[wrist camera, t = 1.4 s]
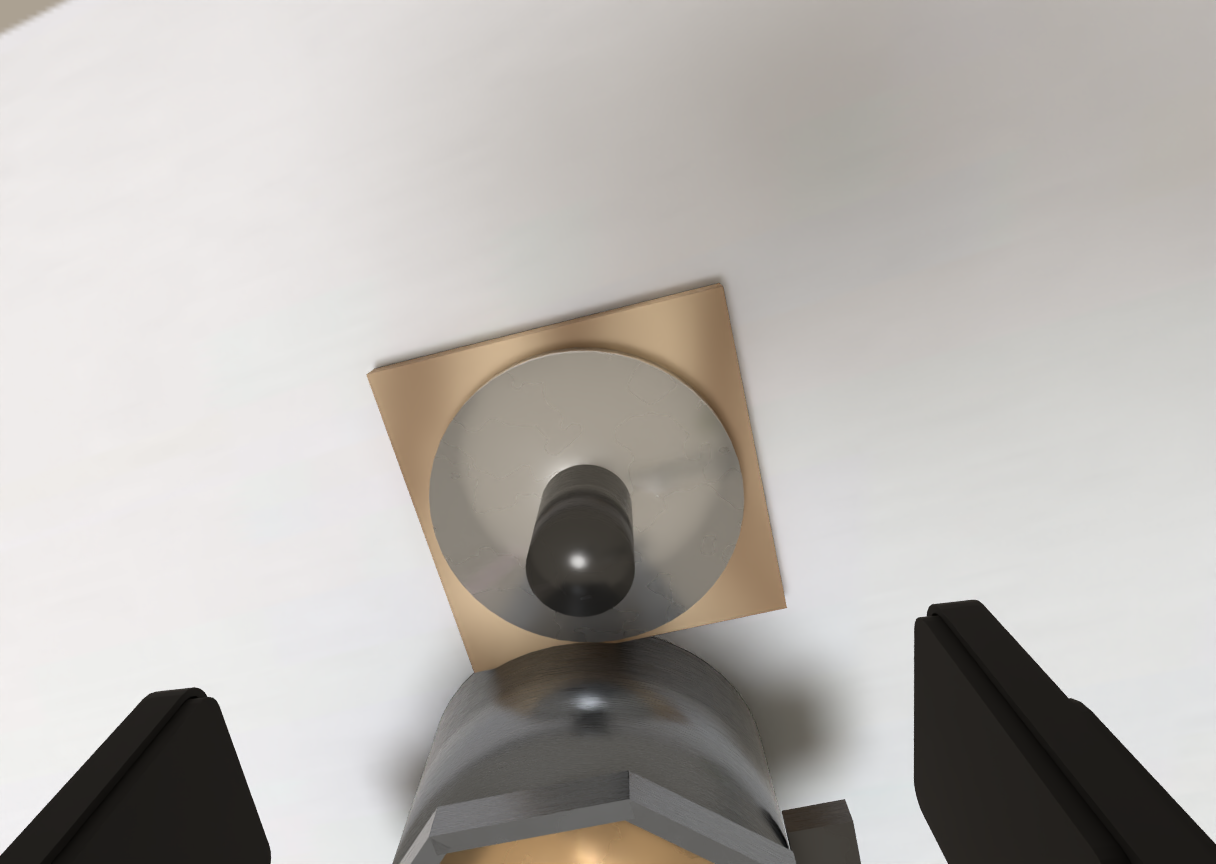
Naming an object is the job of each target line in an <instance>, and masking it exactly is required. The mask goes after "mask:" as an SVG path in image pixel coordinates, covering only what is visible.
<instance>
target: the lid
mask: <svg viewBox="0 0 1216 864" xmlns="http://www.w3.org/2000/svg"><path fill="white" fill-rule="evenodd" d="M429 503H430V515H431V520H432V524H433V529H434V533H435V536H436V539H437V542H438V544H439V547H440V550H441V552H442V554H443V556H444V558H445V560H446V561H447V563H448V565H449V567H450V569H451V570H452V572H453V573H454V574H455V576H456V577H457V578H458V580H459V581H460V583H461V584H462V585H463V586H464V587H465V588H466V589H467V590H468V592H469V593H470V594H471V595H472V596H473V597H474V598H475V599H476V600H478V601H479V602H480V603H481V604H482V605H484V606H485V607H486V608H487V609H488V610H490V611H491V612H493V613H494V614H496V615H497V616H499V617H500V618H502V619H504V620H505V621H507V622H509V623H511V624H513V625H515V626H517V627H519V628H521V629H524V630H526V631H529V632H532V633H535V634H538V635H540V636H544V637H549V638H553V639H557V640H564V641H572V642H605V641H614V640H620V639H624V638H629V637H633V636H637V635H640V634H643V633H645V632H648V631H651V630H654V629H656V628H658V627H660V626H662V625H664V624H666V623H668V622H670V621H672V620H673V619H675V618H676V617H678V616H680V615H681V614H683V613H684V612H686V611H687V610H688V609H689V608H691V607H692V606H693V605H694V604H695V603H697V602H698V601H699V600H700V599H701V598H702V597H703V596H704V595H705V594H706V593H707V592H708V591H709V589H710V588H711V587H712V586H713V585H714V584H715V582H716V581H717V580H718V578H719V577H720V575H721V574H722V572H723V571H724V570H725V568H726V566H727V564H728V562H729V560H730V558H731V556H732V554H733V552H734V549H735V546H736V543H737V540H738V538H739V535H740V530H741V525H742V520H743V510H744V489H743V478H742V474H741V470H740V465H739V461H738V458H737V455H736V453H735V450H734V448H733V445H732V442H731V440H730V438H729V436H728V434H727V432H726V430H725V428H724V426H723V425H722V423H721V421H720V419H719V417H718V416H717V414H716V413H715V412H714V410H713V409H712V408H711V407H710V405H709V404H708V403H707V401H706V400H705V399H704V398H703V397H702V396H701V395H700V394H699V393H698V392H697V391H696V390H695V389H694V388H693V387H692V386H691V385H689V384H688V383H687V382H686V381H684V380H683V379H682V378H680V377H679V376H678V375H676V374H675V373H673V372H671V371H670V370H668V369H666V368H664V367H663V366H661V365H659V364H657V363H655V362H653V361H650V360H648V359H645V358H643V357H640V356H638V355H634V354H630V353H627V352H623V351H619V350H613V349H605V348H597V347H573V348H566V349H558V350H552V351H548V352H545V353H541V354H537V355H533V356H531V357H528V358H526V359H524V360H521V361H519V362H516V363H514V364H512V365H511V366H509V367H507V368H505V369H504V370H502V371H500V372H499V373H497V374H495V375H494V376H493V377H492V378H490V379H489V380H488V381H486V382H485V383H484V384H483V385H481V386H480V387H479V388H478V389H477V390H476V391H475V392H474V393H473V394H472V395H471V396H470V397H469V399H468V400H467V401H466V402H465V403H464V405H463V406H462V407H461V409H460V410H459V412H458V413H457V414H456V416H455V417H454V418H453V420H452V421H451V423H450V424H449V426H448V428H447V430H446V432H445V433H444V435H443V437H442V439H441V441H440V444H439V447H438V449H437V452H436V455H435V458H434V461H433V466H432V471H431V476H430V488H429Z"/></svg>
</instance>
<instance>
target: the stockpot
mask: <svg viewBox="0 0 1216 864" xmlns="http://www.w3.org/2000/svg"><path fill="white" fill-rule="evenodd" d="M782 815H783V819H784V824H785V828H786V833H787V837H788V841H787V837H786V833H785V829H784V825H783V822H782V818H781V814H780V810H779V806H778V803H777V799H776V795H775V791H774V787H773V784H772V780H771V776H770V772H769V768H768V765H767V761H766V757H765V753H764V749H763V746H762V742H761V738H760V735H759V732H758V729H757V726H756V723H755V721H754V719H753V717H752V715H751V713H750V711H749V709H748V707H747V705H746V704H745V702H744V701H743V699H742V698H741V697H740V695H739V694H738V692H737V691H736V690H735V689H734V688H733V686H732V685H731V684H730V683H729V682H728V681H727V680H726V679H725V678H724V677H723V676H722V675H721V674H720V673H718V672H717V671H716V670H715V669H713V668H712V667H711V666H710V665H708V664H707V663H706V662H704V661H703V660H701V659H699V658H698V657H696V656H694V655H693V654H691V653H690V652H688V651H686V650H684V649H681V648H679V647H677V646H675V645H673V644H670V643H668V642H665V641H662V640H659V639H656V638H653V637H650V636H649V637H644V638H639V639H635V640H630V641H625V642H620V643H603V642H591V643H573V644H566V645H559V646H553V647H549V648H545V649H541V650H538V651H534V652H530V653H528V654H525V655H523V656H520V657H518V658H515V659H513V660H510V661H508V662H506V663H504V664H503V665H501V666H499V667H497V668H495V669H490V670H485V671H481V672H476V673H473V674H472V675H471V676H470V677H469V678H468V679H467V680H466V681H465V682H464V683H463V684H462V686H461V687H460V688H459V690H458V691H457V692H456V694H455V695H454V696H453V698H452V699H451V700H450V702H449V704H448V706H447V708H446V710H445V711H444V713H443V715H442V717H441V720H440V723H439V726H438V729H437V732H436V735H435V738H434V741H433V744H432V747H431V750H430V753H429V756H428V759H427V762H426V765H425V768H424V771H423V774H422V777H421V780H420V783H419V786H418V789H417V792H416V795H415V798H414V801H413V804H412V807H411V810H410V813H409V816H408V819H407V822H406V825H405V828H404V831H403V834H402V837H401V840H400V843H399V846H398V849H397V852H396V855H395V858H394V861H393V864H861V862H860V856H859V851H858V845H857V840H856V835H855V829H854V824H853V820H852V817H851V814H850V812H849V809H848V806H847V804H846V801H845V799H844V800H838V801H833V802H827V803H822V804H817V805H811V806H806V807H800V808H795V809H789V810H784V811H782ZM788 842H789V844H788ZM789 846H790V848H789Z"/></svg>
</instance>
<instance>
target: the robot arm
mask: <svg viewBox="0 0 1216 864" xmlns="http://www.w3.org/2000/svg"><path fill="white" fill-rule="evenodd" d="M914 786H915V792H916V796H917V800H918V803H919V806H920V809H921V811H922V813H923V815H924V817H925V819H926V821H927V823H928V825H929V827H930V829H931V831H932V833H933V835H934V837H935V839H936V841H937V843H938V845H939V847H940V849H941V851H942V853H943V855H944V857H945V859H946V861H947V863H948V864H1216V844H1215V843H1214V842H1213V841H1212V840H1211V839H1210V838H1209V836H1208V835H1207V834H1206V833H1205V832H1204V831H1203V830H1202V829H1201V828H1200V827H1199V826H1198V825H1197V824H1196V823H1195V821H1194V820H1193V819H1192V818H1191V817H1190V816H1189V815H1188V814H1187V813H1186V812H1185V811H1184V810H1183V809H1182V808H1181V806H1180V805H1179V804H1178V803H1177V802H1176V801H1175V800H1174V799H1173V798H1172V797H1171V796H1170V795H1169V794H1168V793H1167V791H1166V790H1165V789H1164V788H1163V787H1162V786H1161V785H1160V784H1159V783H1158V782H1157V781H1156V780H1155V779H1154V778H1153V776H1152V775H1151V774H1150V773H1149V772H1148V771H1147V770H1146V769H1145V768H1144V767H1143V766H1142V765H1141V764H1140V762H1139V761H1138V760H1137V759H1136V758H1135V757H1134V756H1133V755H1132V754H1131V753H1130V752H1129V751H1128V750H1127V749H1126V747H1125V746H1124V745H1123V744H1122V743H1121V742H1120V741H1119V740H1118V739H1117V738H1116V737H1115V736H1114V735H1113V734H1112V732H1111V731H1110V730H1109V729H1108V728H1107V727H1106V726H1105V725H1104V724H1103V723H1102V722H1101V721H1100V720H1099V719H1098V717H1097V716H1096V715H1095V714H1094V713H1093V712H1092V711H1091V710H1090V709H1089V708H1087V707H1086V706H1085V705H1084V704H1083V703H1081V702H1080V701H1077V700H1074V699H1072V698H1068V697H1067V696H1066V695H1065V694H1064V693H1063V692H1062V691H1061V689H1060V688H1059V687H1058V686H1057V685H1056V684H1055V683H1054V682H1053V681H1052V680H1051V678H1050V677H1049V676H1048V675H1047V674H1046V673H1045V672H1044V671H1043V670H1042V669H1041V667H1040V666H1039V665H1038V664H1037V663H1036V662H1035V661H1034V660H1033V659H1032V658H1031V656H1030V655H1029V654H1028V653H1027V652H1026V651H1025V650H1024V649H1023V648H1022V647H1021V645H1020V644H1019V643H1018V642H1017V641H1016V640H1015V639H1014V638H1013V637H1012V636H1011V634H1010V633H1009V632H1008V631H1007V630H1006V629H1005V628H1004V627H1003V626H1002V625H1001V624H1000V622H999V621H998V620H997V619H996V618H995V617H994V616H993V615H992V614H991V613H990V611H989V610H988V609H987V608H986V607H985V606H984V605H983V604H982V603H981V602H979V601H978V600H966V601H958V602H949V603H940V604H932V605H931V606H929V608H928V611H927V617H918V618H917V619H916V621H915V627H914ZM270 863H271V851H270V846H269V843H268V840H267V838H266V835H265V832H264V829H263V827H262V824H261V821H260V818H259V815H258V813H257V810H256V807H255V804H254V801H253V799H252V796H251V793H250V790H249V787H248V785H247V782H246V779H245V776H244V773H243V771H242V768H241V765H240V762H239V759H238V757H237V754H236V751H235V748H234V745H233V743H232V740H231V737H230V734H229V732H228V729H227V726H226V723H225V720H224V718H223V715H222V712H221V709H220V706H219V704H218V702H217V701H216V700H215V699H214V698H211V697H207V695H206V694H205V692H203V691H202V690H201V689H199V688H195V687H194V688H185V689H176V690H167V691H158V692H154V693H151V694H149V695H148V696H146V697H145V698H144V699H143V700H142V701H141V702H140V703H139V704H138V705H137V706H136V708H135V709H134V710H133V711H132V712H131V713H130V714H129V715H128V716H127V717H126V718H125V720H124V721H123V722H122V723H121V724H120V725H119V726H118V727H117V728H116V729H115V731H114V732H113V733H112V734H111V735H110V736H109V737H108V738H107V739H106V740H105V742H104V743H103V744H102V745H101V746H100V747H99V748H98V749H97V750H96V751H95V752H94V754H93V755H92V756H91V757H90V758H89V759H88V760H87V761H86V762H85V763H84V765H83V766H82V767H81V768H80V769H79V770H78V771H77V772H76V773H75V774H74V776H73V777H72V778H71V779H70V780H69V781H68V782H67V783H66V784H65V785H64V786H63V788H62V789H61V790H60V791H59V792H58V793H57V794H56V795H55V796H54V797H53V799H52V800H51V801H50V802H49V803H48V804H47V805H46V806H45V807H44V808H43V810H42V811H41V812H40V813H39V814H38V815H37V816H36V817H35V818H34V819H33V820H32V822H31V823H30V824H29V825H28V826H27V827H26V828H25V829H24V830H23V831H22V833H21V834H20V835H19V836H18V837H17V838H16V839H15V840H14V841H13V842H12V844H11V845H10V846H9V847H8V848H7V849H6V850H5V851H4V852H3V853H2V854H1V856H0V864H270Z"/></svg>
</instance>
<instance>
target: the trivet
mask: <svg viewBox="0 0 1216 864" xmlns="http://www.w3.org/2000/svg"><path fill="white" fill-rule="evenodd" d="M573 347H597V348H605V349H613V350H619V351H623V352H627V353H630V354H634V355H638V356H640V357H643V358H645V359H648V360H650V361H653V362H655V363H657V364H659V365H661V366H663V367H664V368H666V369H668V370H670V371H671V372H673V373H675V374H676V375H678V376H679V377H680V378H682V379H683V380H684V381H686V382H687V383H688V384H689V385H691V386H692V387H693V388H694V389H695V390H696V391H697V392H698V393H699V394H700V395H701V396H702V397H703V398H704V399H705V400H706V401H707V403H708V404H709V405H710V407H711V408H712V409H713V410H714V412H715V413H716V414H717V416H718V417H719V419H720V421H721V423H722V425H723V426H724V428H725V430H726V432H727V434H728V436H729V438H730V440H731V442H732V445H733V448H734V450H735V453H736V455H737V458H738V461H739V465H740V470H741V474H742V478H743V489H744V510H743V520H742V525H741V530H740V535H739V538H738V540H737V543H736V546H735V549H734V552H733V554H732V556H731V558H730V560H729V562H728V564H727V566H726V568H725V570H724V571H723V572H722V574H721V575H720V577H719V578H718V580H717V581H716V582H715V584H714V585H713V586H712V587H711V588H710V589H709V591H708V592H707V593H706V594H705V595H704V596H703V597H702V598H701V599H700V600H699V601H698V602H697V603H695V604H694V605H693V606H692V607H691V608H689V609H688V610H687V611H686V612H684V613H683V614H681V615H680V616H678V617H676V618H675V619H673V620H672V621H670V622H668V623H666V624H664V625H662V626H660V627H658V628H656V629H654V630H651V631H648V632H645V633H643V634H640V635H637V636H633V637H629V638H624V639H620V640H614V641H605V642H603V643H620V642H625V641H630V640H635V639H639V638H644V637H649V636H654V635H659V634H664V633H668V632H673V631H678V630H683V629H688V628H692V627H697V626H702V625H707V624H712V623H717V622H721V621H726V620H731V619H736V618H741V617H745V616H750V615H755V614H760V613H765V612H769V611H774V610H779V609H784V608H787V607H786V602H785V596H784V591H783V586H782V581H781V576H780V571H779V566H778V561H777V556H776V551H775V546H774V541H773V536H772V531H771V526H770V521H769V516H768V511H767V506H766V501H765V496H764V491H763V486H762V480H761V475H760V470H759V465H758V460H757V455H756V450H755V445H754V440H753V435H752V430H751V425H750V420H749V415H748V410H747V405H746V400H745V395H744V390H743V385H742V380H741V375H740V370H739V364H738V359H737V354H736V349H735V344H734V339H733V334H732V329H731V324H730V319H729V314H728V309H727V304H726V299H725V294H724V289H723V286H722V285H721V284H720V283H717V284H713V285H709V286H705V287H701V288H697V289H693V290H689V291H685V292H681V293H677V294H673V295H669V296H665V297H661V298H657V299H653V300H649V301H645V302H641V303H637V304H633V305H629V306H625V307H621V308H617V309H613V310H609V311H605V312H601V313H597V314H593V315H589V316H585V317H581V318H577V319H573V320H569V321H565V322H561V323H557V324H553V325H549V326H544V327H540V328H536V329H532V330H528V331H524V332H520V333H516V334H512V335H508V336H504V337H500V338H496V339H492V340H488V341H484V342H480V343H476V344H472V345H468V346H464V347H460V348H456V349H452V350H448V351H444V352H440V353H436V354H432V355H428V356H424V357H420V358H416V359H412V360H408V361H404V362H400V363H396V364H392V365H388V366H384V367H380V368H376V369H374V370H372V371H371V372H369V373H368V374H367V378H368V380H369V383H370V386H371V389H372V391H373V394H374V397H375V400H376V402H377V405H378V408H379V411H380V413H381V416H382V419H383V422H384V425H385V427H386V430H387V433H388V436H389V438H390V441H391V444H392V447H393V449H394V452H395V455H396V458H397V460H398V463H399V466H400V469H401V472H402V474H403V477H404V480H405V483H406V485H407V488H408V491H409V494H410V496H411V499H412V502H413V505H414V507H415V510H416V513H417V516H418V518H419V521H420V524H421V527H422V530H423V532H424V535H425V538H426V541H427V543H428V546H429V549H430V552H431V554H432V557H433V560H434V563H435V565H436V568H437V571H438V574H439V577H440V579H441V582H442V585H443V588H444V590H445V593H446V596H447V599H448V601H449V604H450V607H451V610H452V612H453V615H454V618H455V621H456V623H457V626H458V629H459V632H460V635H461V637H462V640H463V643H464V646H465V648H466V651H467V654H468V657H469V659H470V662H471V665H472V668H473V670H474V673H476V672H481V671H485V670H490V669H495V668H497V667H499V666H501V665H503V664H504V663H506V662H508V661H510V660H513V659H515V658H518V657H520V656H523V655H525V654H528V653H530V652H534V651H538V650H541V649H545V648H549V647H553V646H559V645H566V644H573V643H591V642H572V641H564V640H557V639H553V638H549V637H544V636H540V635H538V634H535V633H532V632H529V631H526V630H524V629H521V628H519V627H517V626H515V625H513V624H511V623H509V622H507V621H505V620H504V619H502V618H500V617H499V616H497V615H496V614H494V613H493V612H491V611H490V610H488V609H487V608H486V607H485V606H484V605H482V604H481V603H480V602H479V601H478V600H476V599H475V598H474V597H473V596H472V595H471V594H470V593H469V592H468V590H467V589H466V588H465V587H464V586H463V585H462V584H461V583H460V581H459V580H458V578H457V577H456V576H455V574H454V573H453V572H452V570H451V569H450V567H449V565H448V563H447V561H446V560H445V558H444V556H443V554H442V552H441V550H440V547H439V544H438V542H437V539H436V536H435V533H434V529H433V524H432V520H431V515H430V503H429V488H430V476H431V471H432V466H433V461H434V458H435V455H436V452H437V449H438V447H439V444H440V441H441V439H442V437H443V435H444V433H445V432H446V430H447V428H448V426H449V424H450V423H451V421H452V420H453V418H454V417H455V416H456V414H457V413H458V412H459V410H460V409H461V407H462V406H463V405H464V403H465V402H466V401H467V400H468V399H469V397H470V396H471V395H472V394H473V393H474V392H475V391H476V390H477V389H478V388H479V387H480V386H481V385H483V384H484V383H485V382H486V381H488V380H489V379H490V378H492V377H493V376H494V375H495V374H497V373H499V372H500V371H502V370H504V369H505V368H507V367H509V366H511V365H512V364H514V363H516V362H519V361H521V360H524V359H526V358H528V357H531V356H533V355H537V354H541V353H545V352H548V351H552V350H558V349H566V348H573Z"/></svg>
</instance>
